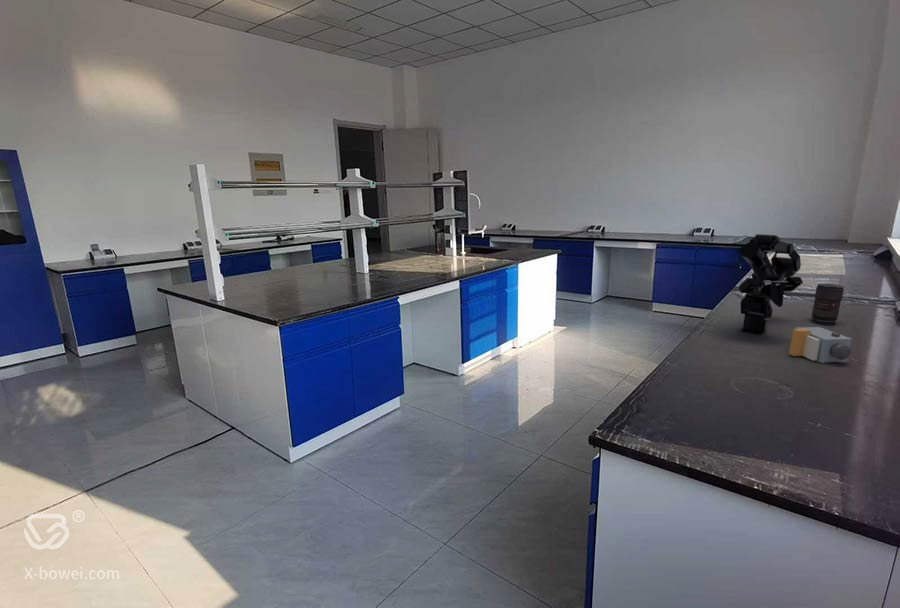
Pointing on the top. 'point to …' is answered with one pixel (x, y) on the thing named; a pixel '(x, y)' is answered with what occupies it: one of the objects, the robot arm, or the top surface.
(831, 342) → the grey knobbed box
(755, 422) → the top surface
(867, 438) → the top surface
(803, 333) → the side door
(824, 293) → the camera lens
